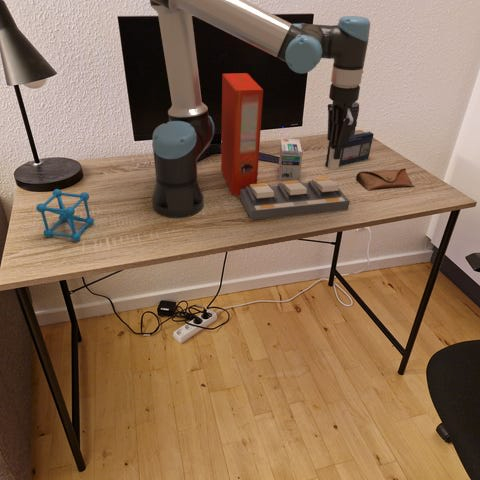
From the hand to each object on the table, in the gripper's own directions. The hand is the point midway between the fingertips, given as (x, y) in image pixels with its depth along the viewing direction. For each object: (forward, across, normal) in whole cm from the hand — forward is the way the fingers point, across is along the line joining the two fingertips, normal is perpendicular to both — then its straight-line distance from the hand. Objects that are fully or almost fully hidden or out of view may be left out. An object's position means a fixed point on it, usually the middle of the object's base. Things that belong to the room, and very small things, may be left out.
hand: (333, 167), depth 125 cm
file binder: (+12, +19, +24) cm, 32 cm away
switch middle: (+7, +3, +10) cm, 13 cm away
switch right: (+7, +3, 0) cm, 7 cm away
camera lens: (+12, +45, -26) cm, 53 cm away
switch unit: (+12, +2, +10) cm, 16 cm away
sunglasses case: (+13, +9, -24) cm, 29 cm away
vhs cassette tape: (+12, +26, -18) cm, 34 cm away
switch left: (+7, +3, +20) cm, 22 cm away
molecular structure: (+11, 0, +74) cm, 75 cm away
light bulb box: (+12, +21, +6) cm, 25 cm away
